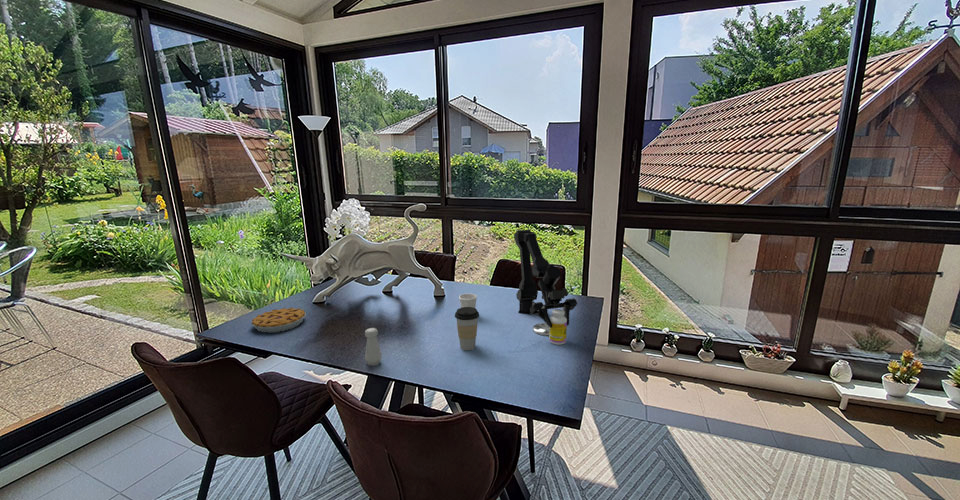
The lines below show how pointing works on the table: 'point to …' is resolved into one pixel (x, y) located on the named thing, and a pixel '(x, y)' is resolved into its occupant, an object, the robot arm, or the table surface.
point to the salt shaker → (372, 347)
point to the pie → (278, 320)
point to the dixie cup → (468, 300)
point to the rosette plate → (541, 329)
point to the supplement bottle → (558, 327)
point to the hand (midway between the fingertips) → (559, 326)
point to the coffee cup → (467, 327)
